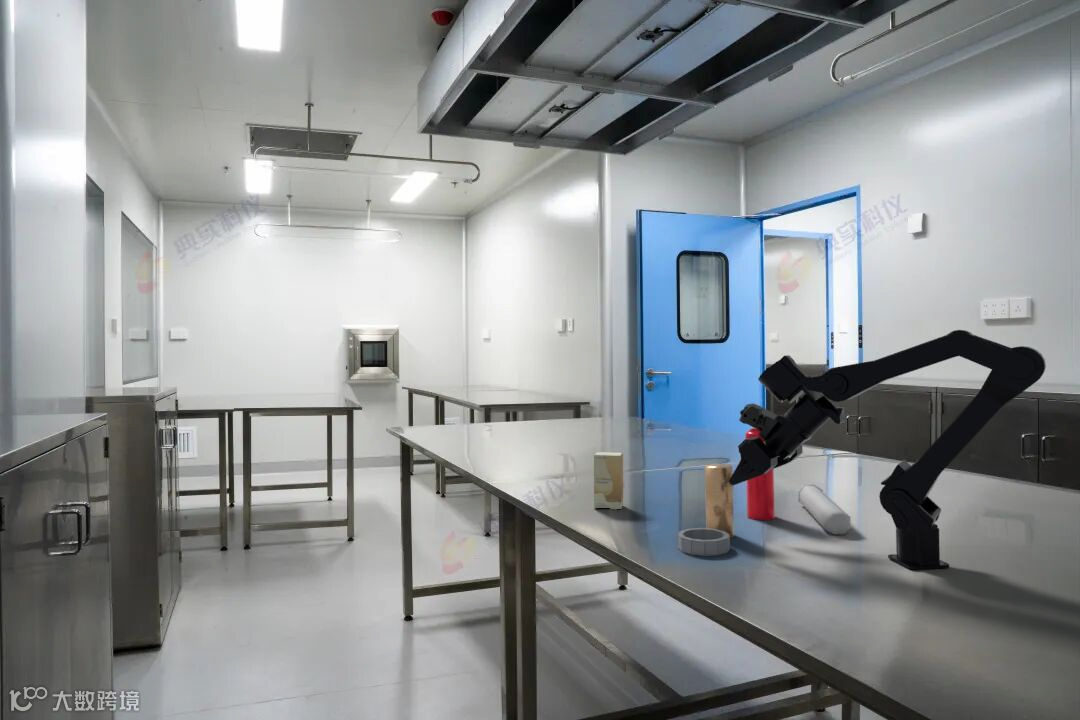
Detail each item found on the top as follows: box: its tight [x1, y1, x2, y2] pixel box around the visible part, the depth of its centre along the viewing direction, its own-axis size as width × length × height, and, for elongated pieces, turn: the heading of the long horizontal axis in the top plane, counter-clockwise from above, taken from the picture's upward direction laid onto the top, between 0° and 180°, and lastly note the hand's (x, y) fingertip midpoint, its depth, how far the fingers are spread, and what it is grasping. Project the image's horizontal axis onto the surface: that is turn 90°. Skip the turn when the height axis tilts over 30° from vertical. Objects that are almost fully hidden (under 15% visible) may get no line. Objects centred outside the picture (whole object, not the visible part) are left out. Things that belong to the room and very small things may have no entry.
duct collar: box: [677, 527, 731, 557], centre depth 123 cm, size 9×9×2 cm
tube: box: [797, 483, 852, 536], centre depth 141 cm, size 5×5×25 cm
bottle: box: [744, 426, 776, 521], centre depth 145 cm, size 5×5×20 cm
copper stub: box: [704, 463, 735, 539], centre depth 132 cm, size 5×5×13 cm
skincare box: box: [593, 451, 624, 510], centre depth 157 cm, size 6×4×12 cm
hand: (740, 479), depth 129 cm, fingers open, 9 cm apart
